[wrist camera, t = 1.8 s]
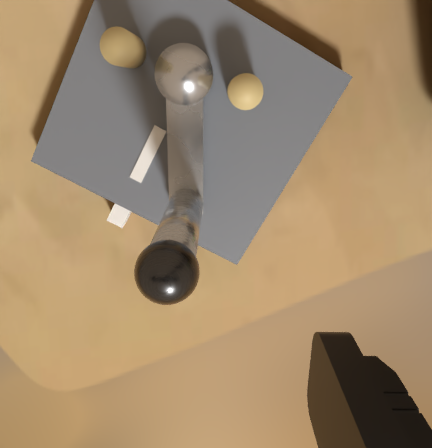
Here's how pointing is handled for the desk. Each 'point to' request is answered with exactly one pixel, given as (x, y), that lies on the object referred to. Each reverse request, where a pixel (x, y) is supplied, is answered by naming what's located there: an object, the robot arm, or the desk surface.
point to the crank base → (213, 113)
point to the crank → (179, 177)
